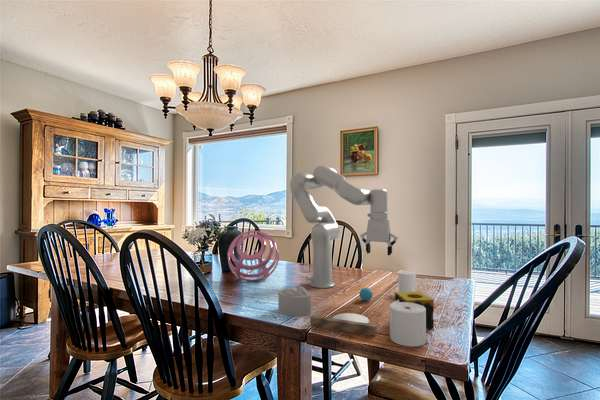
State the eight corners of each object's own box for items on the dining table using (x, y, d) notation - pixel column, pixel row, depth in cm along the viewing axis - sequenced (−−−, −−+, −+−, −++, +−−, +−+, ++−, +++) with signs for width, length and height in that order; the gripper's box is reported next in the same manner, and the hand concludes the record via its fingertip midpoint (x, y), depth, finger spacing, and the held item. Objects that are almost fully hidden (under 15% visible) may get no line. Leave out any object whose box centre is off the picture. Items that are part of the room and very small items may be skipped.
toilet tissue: (412, 350, 94) (411, 315, 94) (379, 336, 104) (379, 304, 104) (433, 341, 100) (433, 308, 100) (400, 328, 110) (400, 298, 110)
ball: (358, 301, 140) (358, 288, 140) (361, 298, 145) (361, 285, 145) (371, 303, 138) (371, 290, 138) (373, 299, 143) (373, 286, 143)
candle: (393, 319, 119) (393, 291, 119) (420, 318, 120) (420, 291, 120) (405, 330, 109) (404, 300, 109) (434, 329, 110) (434, 299, 110)
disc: (327, 323, 115) (327, 322, 115) (338, 311, 127) (338, 311, 127) (364, 329, 110) (364, 328, 110) (372, 316, 122) (372, 316, 122)
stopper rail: (310, 326, 113) (310, 317, 113) (312, 324, 115) (312, 315, 115) (375, 336, 104) (375, 326, 104) (376, 334, 106) (376, 324, 106)
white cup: (417, 297, 146) (417, 274, 146) (398, 296, 148) (398, 273, 148) (414, 292, 154) (414, 270, 154) (397, 291, 155) (397, 270, 155)
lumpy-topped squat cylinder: (292, 304, 136) (292, 283, 137) (317, 311, 128) (317, 289, 128) (274, 311, 129) (274, 288, 129) (299, 318, 120) (299, 295, 120)
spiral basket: (242, 239, 202) (235, 216, 180) (285, 250, 198) (285, 228, 176) (224, 281, 187) (214, 262, 164) (270, 295, 183) (268, 277, 161)
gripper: (357, 216, 151) (357, 253, 151) (395, 217, 142) (395, 257, 142) (363, 215, 158) (363, 251, 158) (400, 216, 148) (400, 254, 148)
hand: (378, 254), depth 150 cm, fingers open, 9 cm apart
